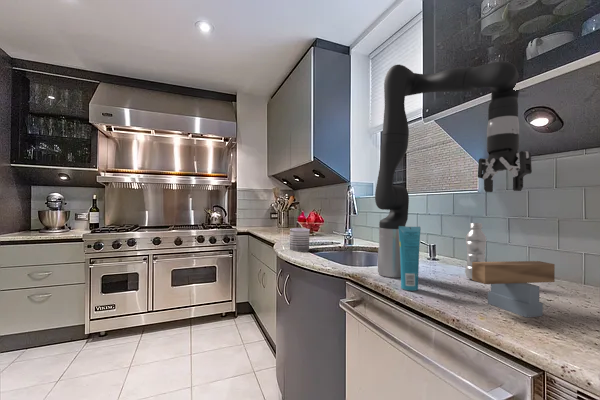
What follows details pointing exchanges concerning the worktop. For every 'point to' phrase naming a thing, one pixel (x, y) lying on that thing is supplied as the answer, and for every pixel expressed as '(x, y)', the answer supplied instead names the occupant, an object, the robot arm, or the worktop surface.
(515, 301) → the ridge
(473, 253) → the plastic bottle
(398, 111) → the robot arm
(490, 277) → the walnut bar
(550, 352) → the worktop surface
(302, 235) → the can
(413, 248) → the tube
